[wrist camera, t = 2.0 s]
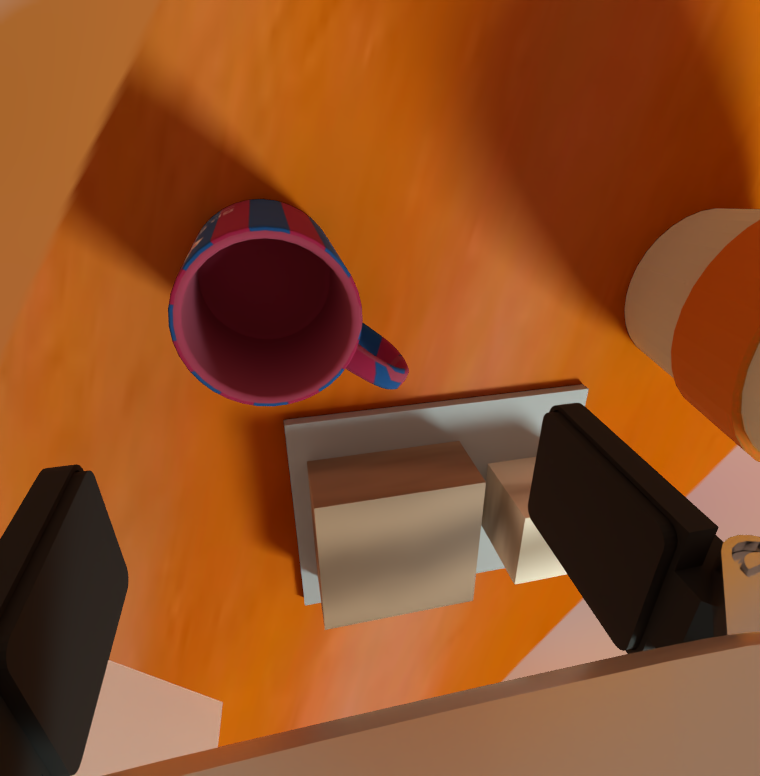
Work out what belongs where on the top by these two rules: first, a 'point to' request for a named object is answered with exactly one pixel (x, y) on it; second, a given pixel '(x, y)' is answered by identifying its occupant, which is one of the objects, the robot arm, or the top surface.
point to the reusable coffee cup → (705, 316)
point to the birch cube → (516, 522)
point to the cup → (272, 310)
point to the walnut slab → (395, 531)
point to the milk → (146, 722)
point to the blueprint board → (418, 428)
